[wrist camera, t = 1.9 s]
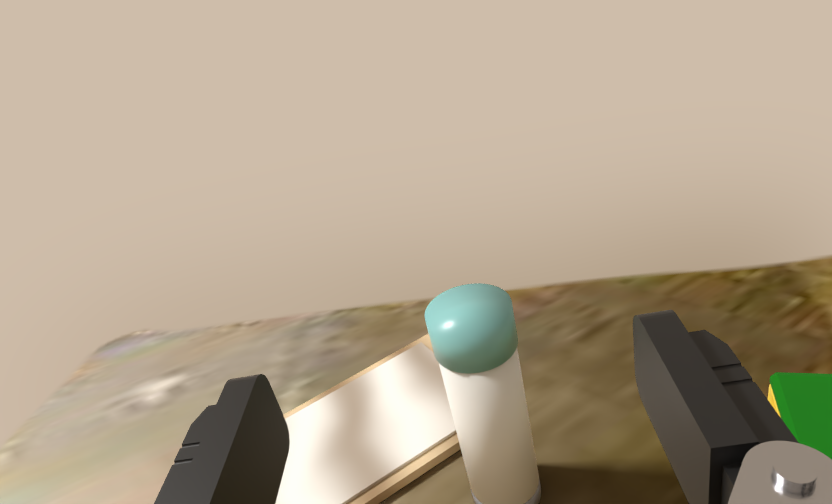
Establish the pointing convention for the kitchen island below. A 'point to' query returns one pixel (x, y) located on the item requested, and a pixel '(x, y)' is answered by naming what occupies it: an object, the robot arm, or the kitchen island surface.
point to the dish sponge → (805, 407)
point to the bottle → (485, 391)
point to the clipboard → (370, 432)
